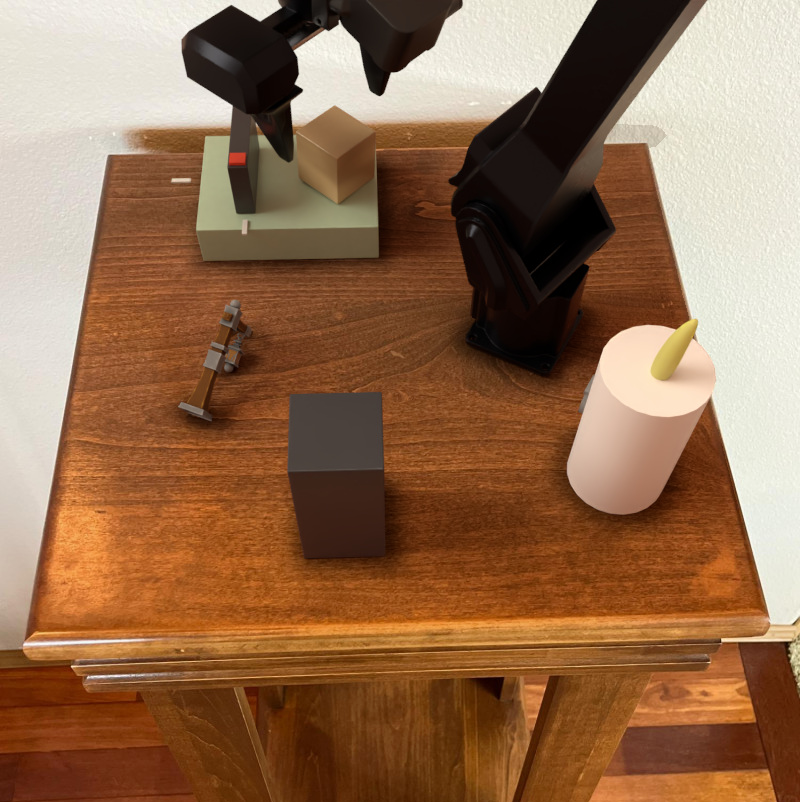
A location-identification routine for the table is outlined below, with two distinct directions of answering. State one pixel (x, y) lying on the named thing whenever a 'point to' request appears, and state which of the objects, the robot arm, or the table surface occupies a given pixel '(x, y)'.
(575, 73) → the robot arm
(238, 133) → the dark grey panel
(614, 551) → the table surface
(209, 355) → the wooden lantern post
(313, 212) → the base
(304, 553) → the stand
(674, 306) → the table surface
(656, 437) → the candle
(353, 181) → the block
